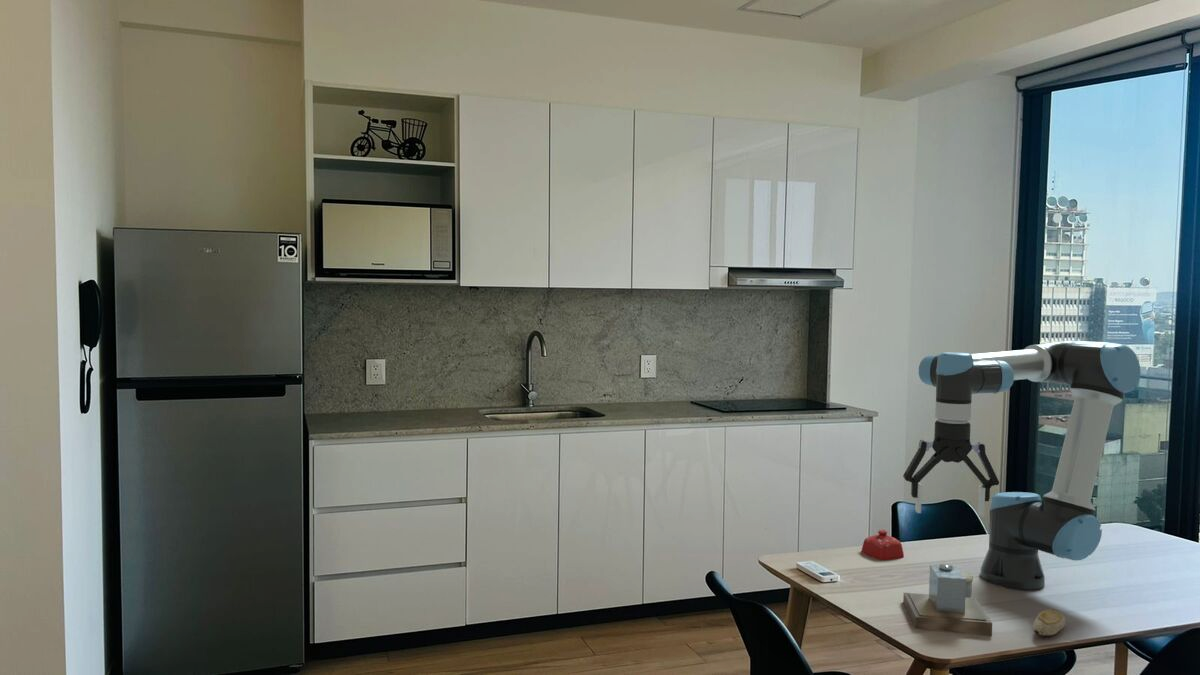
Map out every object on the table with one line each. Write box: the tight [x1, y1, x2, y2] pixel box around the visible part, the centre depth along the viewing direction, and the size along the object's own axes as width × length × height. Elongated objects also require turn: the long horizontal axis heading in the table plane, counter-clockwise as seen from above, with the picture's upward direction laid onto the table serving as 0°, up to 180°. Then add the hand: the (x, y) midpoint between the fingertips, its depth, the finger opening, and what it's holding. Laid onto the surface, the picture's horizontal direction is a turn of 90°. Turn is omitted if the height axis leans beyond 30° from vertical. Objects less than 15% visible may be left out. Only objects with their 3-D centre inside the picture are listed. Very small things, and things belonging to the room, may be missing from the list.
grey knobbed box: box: [928, 563, 966, 614], centre depth 201 cm, size 9×6×9 cm, turn 170°
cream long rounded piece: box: [1032, 608, 1066, 637], centre depth 195 cm, size 5×14×4 cm, turn 137°
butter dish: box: [861, 529, 905, 561], centre depth 247 cm, size 12×12×8 cm
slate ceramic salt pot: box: [961, 571, 974, 598], centre depth 213 cm, size 5×5×7 cm
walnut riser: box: [902, 592, 993, 637], centre depth 202 cm, size 16×16×3 cm
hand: (949, 513), depth 200 cm, fingers open, 13 cm apart
